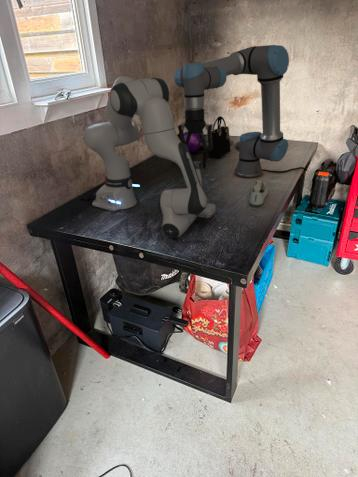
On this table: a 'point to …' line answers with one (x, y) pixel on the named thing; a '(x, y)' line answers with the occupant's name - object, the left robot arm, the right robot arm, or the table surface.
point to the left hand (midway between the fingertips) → (197, 200)
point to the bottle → (199, 175)
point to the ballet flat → (258, 193)
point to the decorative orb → (193, 142)
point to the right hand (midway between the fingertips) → (196, 167)
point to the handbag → (220, 140)
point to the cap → (197, 164)
